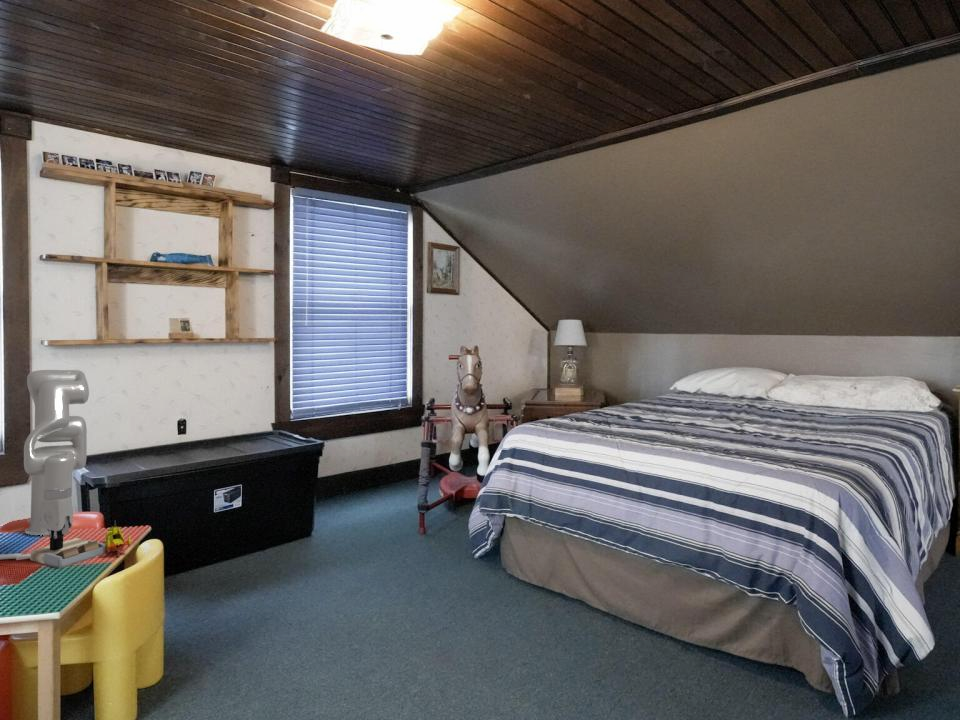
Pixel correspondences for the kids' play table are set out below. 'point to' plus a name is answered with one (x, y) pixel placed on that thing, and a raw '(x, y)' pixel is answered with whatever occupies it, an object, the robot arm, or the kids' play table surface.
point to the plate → (39, 553)
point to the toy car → (115, 539)
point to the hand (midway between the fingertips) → (56, 549)
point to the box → (73, 557)
